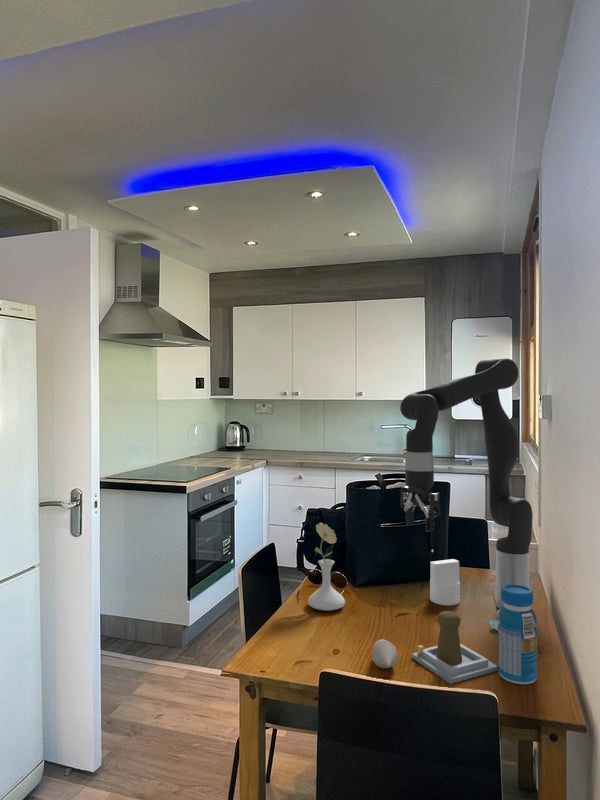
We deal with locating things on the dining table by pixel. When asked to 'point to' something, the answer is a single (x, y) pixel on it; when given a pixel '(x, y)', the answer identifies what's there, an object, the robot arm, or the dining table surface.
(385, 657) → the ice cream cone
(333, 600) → the flower in vase
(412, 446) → the robot arm
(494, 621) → the pacifier
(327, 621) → the dining table surface
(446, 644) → the cork
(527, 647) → the beverage bottle
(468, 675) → the board
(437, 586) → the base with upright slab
